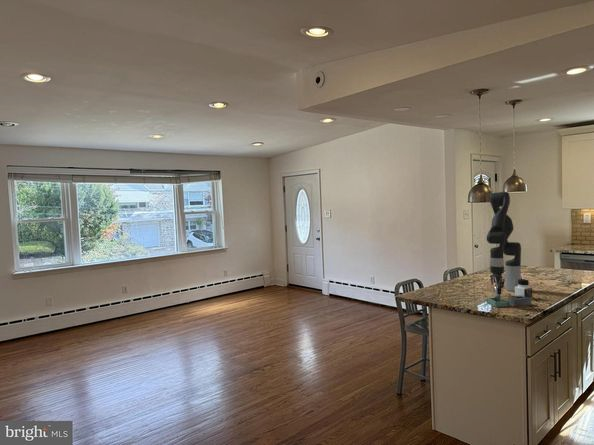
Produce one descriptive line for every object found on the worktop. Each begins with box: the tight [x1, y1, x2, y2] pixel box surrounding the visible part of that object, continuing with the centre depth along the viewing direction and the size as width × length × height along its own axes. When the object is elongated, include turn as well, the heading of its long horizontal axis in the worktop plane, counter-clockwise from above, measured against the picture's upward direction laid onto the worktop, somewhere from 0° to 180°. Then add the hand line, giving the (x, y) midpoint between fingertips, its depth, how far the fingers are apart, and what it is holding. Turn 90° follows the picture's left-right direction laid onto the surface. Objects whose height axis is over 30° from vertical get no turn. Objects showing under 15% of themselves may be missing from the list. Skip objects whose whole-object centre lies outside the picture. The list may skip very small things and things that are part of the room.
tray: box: [486, 297, 510, 308], centre depth 248 cm, size 12×8×3 cm, turn 0°
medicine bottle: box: [514, 278, 533, 300], centre depth 262 cm, size 7×7×12 cm
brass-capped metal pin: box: [492, 283, 501, 302], centre depth 248 cm, size 4×4×11 cm
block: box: [507, 295, 532, 307], centre depth 248 cm, size 9×9×4 cm
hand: (497, 293), depth 248 cm, fingers open, 3 cm apart
